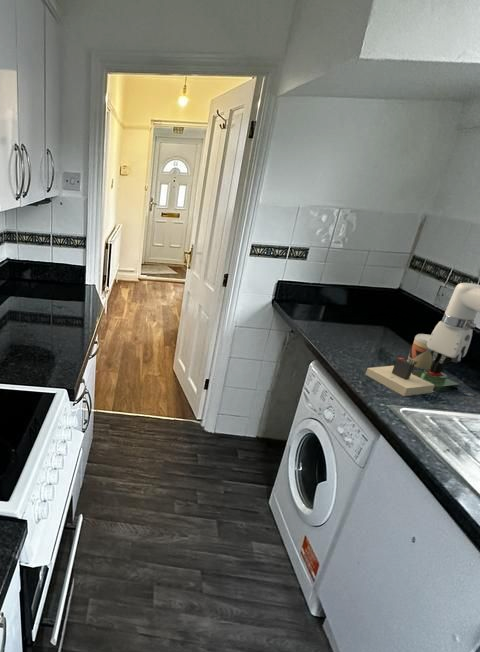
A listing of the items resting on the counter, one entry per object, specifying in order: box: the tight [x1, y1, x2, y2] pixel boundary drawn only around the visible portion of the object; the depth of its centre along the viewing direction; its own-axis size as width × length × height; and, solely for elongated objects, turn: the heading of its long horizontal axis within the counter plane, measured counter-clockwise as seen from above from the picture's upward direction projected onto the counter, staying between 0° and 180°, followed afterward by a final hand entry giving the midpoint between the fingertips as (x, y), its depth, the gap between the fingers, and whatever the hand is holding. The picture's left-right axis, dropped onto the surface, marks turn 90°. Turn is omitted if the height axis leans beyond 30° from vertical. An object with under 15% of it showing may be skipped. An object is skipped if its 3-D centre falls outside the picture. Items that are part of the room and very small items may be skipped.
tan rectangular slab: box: [364, 365, 435, 397], centre depth 141 cm, size 15×12×3 cm
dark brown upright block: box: [392, 357, 415, 380], centre depth 139 cm, size 5×2×6 cm, turn 16°
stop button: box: [429, 371, 443, 376], centre depth 142 cm, size 4×4×2 cm
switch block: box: [411, 369, 460, 393], centre depth 142 cm, size 11×9×4 cm
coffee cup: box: [406, 333, 433, 371], centre depth 152 cm, size 9×9×12 cm
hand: (435, 371), depth 142 cm, fingers closed
